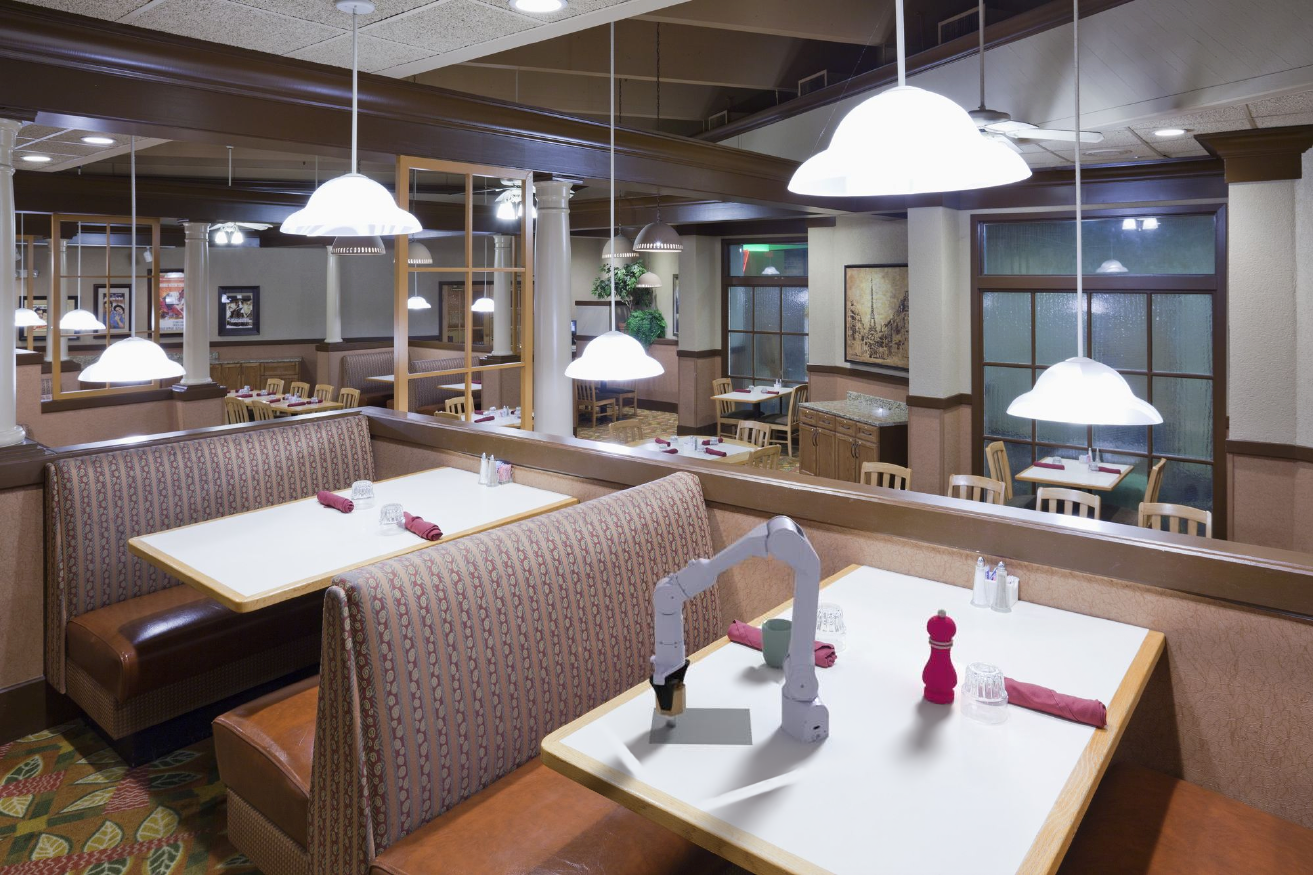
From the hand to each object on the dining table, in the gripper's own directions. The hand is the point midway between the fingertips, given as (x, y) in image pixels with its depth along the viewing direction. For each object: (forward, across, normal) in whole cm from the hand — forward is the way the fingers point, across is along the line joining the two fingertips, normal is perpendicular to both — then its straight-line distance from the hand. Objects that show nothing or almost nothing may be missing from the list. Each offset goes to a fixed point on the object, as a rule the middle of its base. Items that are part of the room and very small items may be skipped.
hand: (670, 702), depth 169 cm
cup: (+7, -36, +15) cm, 40 cm away
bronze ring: (+1, 0, 0) cm, 1 cm away
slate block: (+6, -2, +6) cm, 9 cm away
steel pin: (+5, 0, 0) cm, 5 cm away
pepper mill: (+7, -30, +51) cm, 60 cm away
